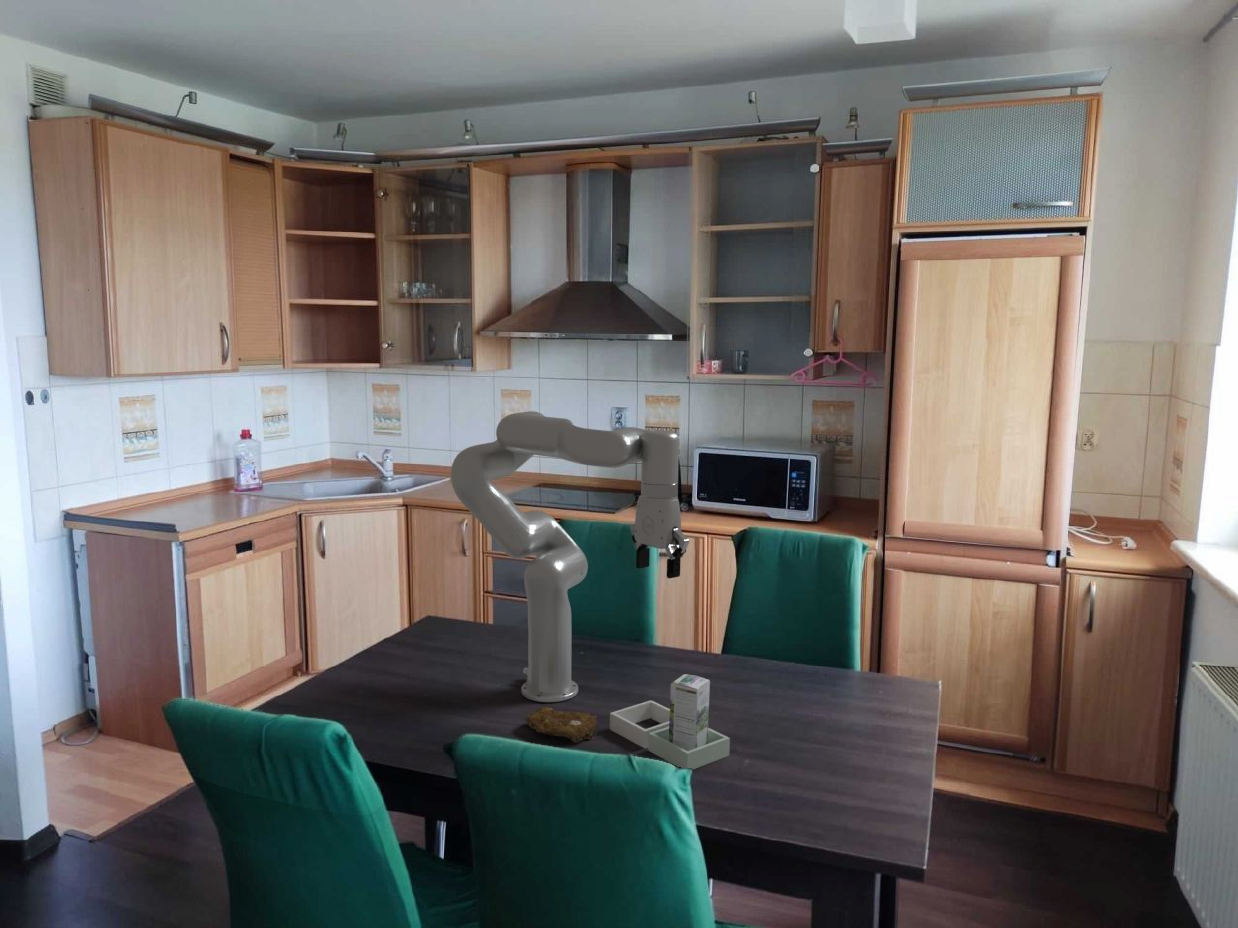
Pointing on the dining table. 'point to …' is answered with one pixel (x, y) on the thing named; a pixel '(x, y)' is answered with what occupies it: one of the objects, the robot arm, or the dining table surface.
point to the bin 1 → (627, 718)
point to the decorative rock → (563, 723)
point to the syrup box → (689, 712)
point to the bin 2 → (694, 758)
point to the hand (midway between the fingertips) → (657, 572)
